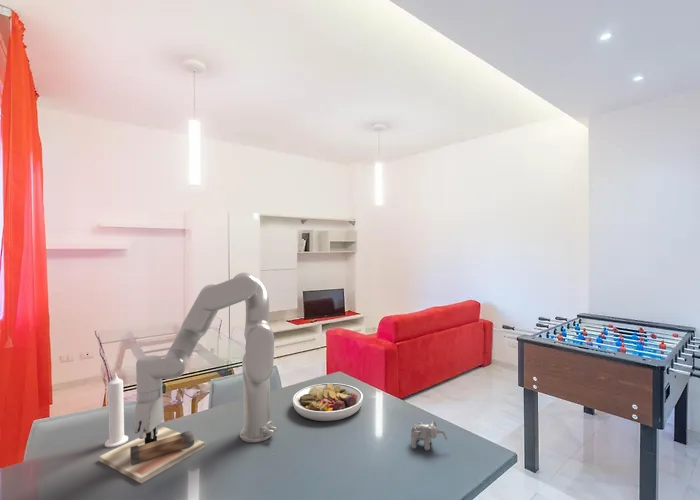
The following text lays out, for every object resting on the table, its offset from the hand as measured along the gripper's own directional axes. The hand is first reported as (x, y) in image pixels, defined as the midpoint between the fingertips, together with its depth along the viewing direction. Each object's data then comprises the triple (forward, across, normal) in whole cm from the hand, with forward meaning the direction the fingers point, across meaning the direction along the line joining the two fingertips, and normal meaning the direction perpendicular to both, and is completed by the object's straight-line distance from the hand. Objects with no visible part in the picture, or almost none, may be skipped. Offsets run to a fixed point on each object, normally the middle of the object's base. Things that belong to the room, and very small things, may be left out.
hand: (151, 448), depth 119 cm
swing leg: (0, +1, +5) cm, 5 cm away
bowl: (+3, -35, +57) cm, 67 cm away
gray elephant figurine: (+3, -4, +94) cm, 94 cm away
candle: (+2, -8, -17) cm, 19 cm away
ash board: (+2, -1, 0) cm, 2 cm away
